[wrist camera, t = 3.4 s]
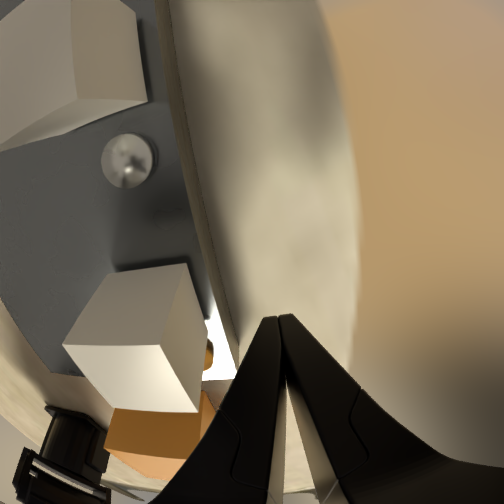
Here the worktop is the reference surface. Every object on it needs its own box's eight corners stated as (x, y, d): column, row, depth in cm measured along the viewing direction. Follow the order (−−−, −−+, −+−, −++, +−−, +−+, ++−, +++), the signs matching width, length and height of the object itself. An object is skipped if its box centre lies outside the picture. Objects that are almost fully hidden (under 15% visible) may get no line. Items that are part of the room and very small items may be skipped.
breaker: (63, 134, 6) (-18, 158, 3) (53, 52, 5) (-25, 45, 2) (147, 101, 6) (77, 98, 3) (135, 12, 5) (73, -32, 2)
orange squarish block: (155, 428, 19) (146, 477, 14) (120, 389, 16) (103, 447, 12) (226, 430, 18) (224, 483, 14) (204, 390, 16) (198, 460, 11)
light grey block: (137, 336, 10) (112, 407, 7) (107, 273, 9) (61, 344, 6) (208, 331, 10) (198, 412, 7) (186, 262, 9) (159, 344, 5)
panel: (62, 350, 14) (48, 376, 12) (-29, 54, 5) (-57, 56, 3) (239, 347, 14) (238, 384, 11) (161, -65, 4) (146, -92, 2)
